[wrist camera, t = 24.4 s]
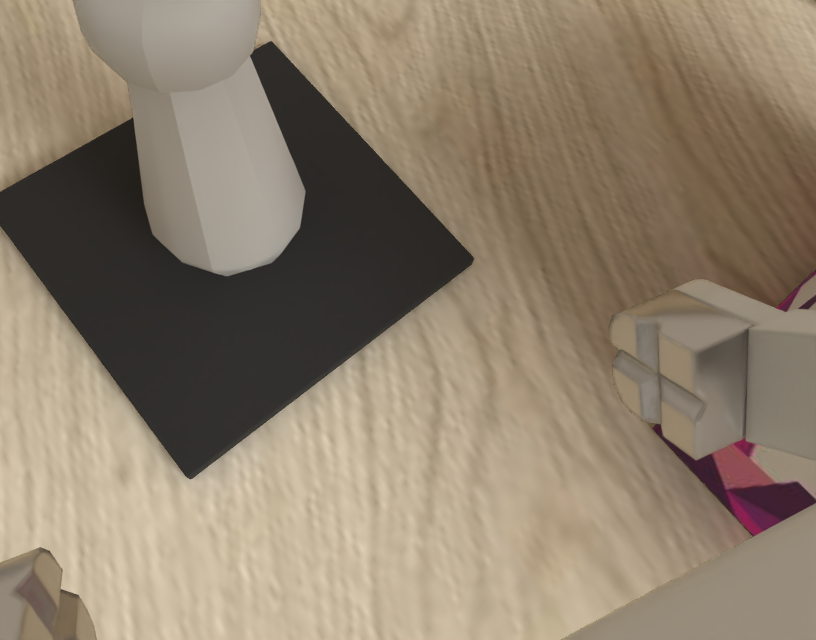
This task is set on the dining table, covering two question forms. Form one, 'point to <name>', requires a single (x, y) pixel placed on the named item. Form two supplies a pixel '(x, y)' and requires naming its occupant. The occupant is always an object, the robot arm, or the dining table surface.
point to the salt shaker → (201, 128)
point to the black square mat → (236, 294)
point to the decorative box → (759, 463)
